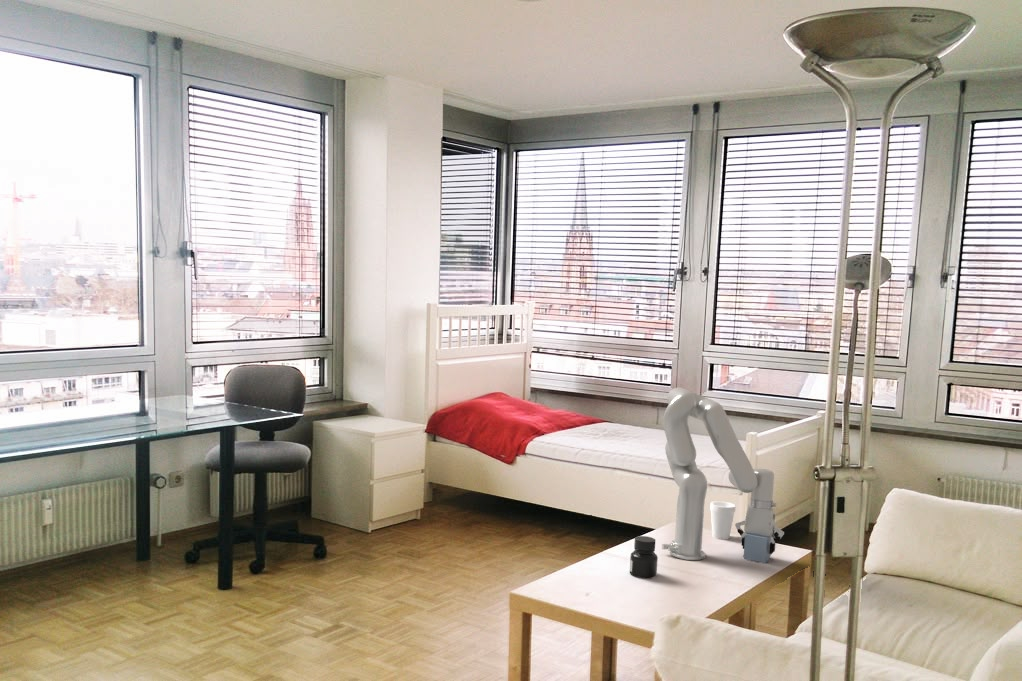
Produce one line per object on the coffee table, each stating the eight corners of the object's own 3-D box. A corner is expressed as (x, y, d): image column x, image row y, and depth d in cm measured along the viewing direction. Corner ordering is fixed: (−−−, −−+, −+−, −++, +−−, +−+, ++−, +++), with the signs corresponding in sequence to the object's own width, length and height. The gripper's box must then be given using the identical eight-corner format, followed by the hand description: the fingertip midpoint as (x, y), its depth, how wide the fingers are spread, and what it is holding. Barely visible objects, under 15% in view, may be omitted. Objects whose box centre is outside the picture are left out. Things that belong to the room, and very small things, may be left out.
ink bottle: (640, 568, 289) (642, 533, 288) (662, 575, 283) (664, 539, 282) (623, 574, 282) (625, 538, 281) (645, 581, 276) (648, 545, 275)
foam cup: (703, 534, 333) (705, 502, 333) (722, 532, 337) (724, 500, 337) (719, 541, 325) (721, 508, 324) (738, 539, 329) (740, 506, 328)
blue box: (765, 563, 301) (766, 538, 301) (743, 558, 305) (745, 534, 304) (770, 557, 308) (772, 533, 307) (749, 553, 312) (750, 529, 311)
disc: (752, 563, 300) (752, 562, 300) (737, 554, 310) (737, 553, 310) (777, 562, 303) (777, 561, 303) (762, 553, 312) (762, 552, 312)
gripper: (788, 506, 304) (784, 553, 305) (740, 497, 313) (736, 543, 314) (783, 510, 298) (779, 558, 299) (734, 501, 306) (731, 548, 307)
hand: (757, 550), depth 306 cm, fingers open, 9 cm apart
